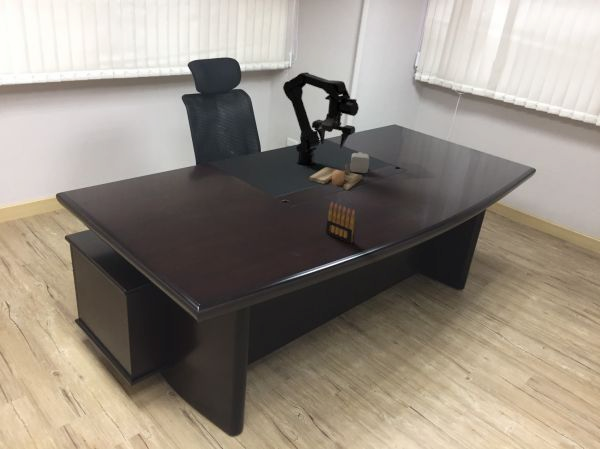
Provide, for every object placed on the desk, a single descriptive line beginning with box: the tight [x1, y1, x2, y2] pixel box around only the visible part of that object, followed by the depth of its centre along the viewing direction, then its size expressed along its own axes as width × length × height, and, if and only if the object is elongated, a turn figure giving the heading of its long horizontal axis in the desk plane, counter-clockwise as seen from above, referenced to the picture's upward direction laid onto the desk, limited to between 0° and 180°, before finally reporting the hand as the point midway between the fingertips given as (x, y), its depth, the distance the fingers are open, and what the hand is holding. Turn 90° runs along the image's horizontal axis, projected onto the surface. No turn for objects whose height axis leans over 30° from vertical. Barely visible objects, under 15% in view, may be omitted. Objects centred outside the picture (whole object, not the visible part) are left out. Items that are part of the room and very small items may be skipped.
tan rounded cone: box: [331, 169, 345, 186], centre depth 214 cm, size 5×5×5 cm
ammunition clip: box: [325, 201, 356, 244], centre depth 167 cm, size 11×2×12 cm, turn 50°
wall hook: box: [349, 151, 370, 174], centre depth 231 cm, size 8×10×10 cm
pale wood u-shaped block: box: [309, 163, 363, 191], centre depth 218 cm, size 18×16×6 cm
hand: (331, 146), depth 223 cm, fingers open, 9 cm apart
